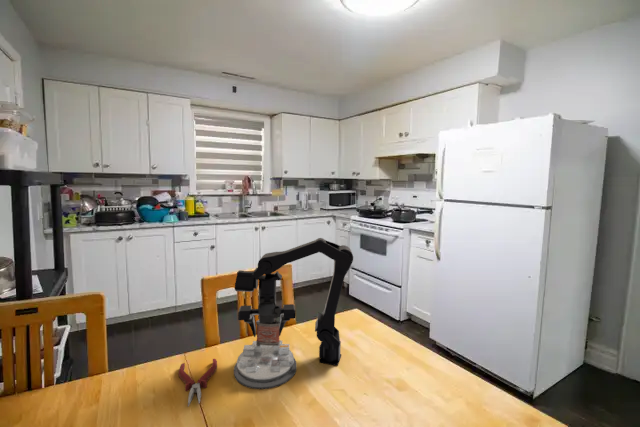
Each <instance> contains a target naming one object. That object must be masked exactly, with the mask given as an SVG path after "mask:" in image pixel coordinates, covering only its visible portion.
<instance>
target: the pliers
mask: <svg viewBox="0 0 640 427" xmlns="http://www.w3.org/2000/svg"><path fill="white" fill-rule="evenodd" d="M185 365H186V364H185V362H182V363H181V364H180V365H179V369H178V376H179V379H180V380H181V381H182V382H183V383H184V384H185V386H184V388H185V389H184V390H185V392H188V391H189V393H188V398H187V400H188V401H187V407H189V406H190V405H191V403H192V401H193V398H194V396H195V394H196V397H197V401H198V404H199V405H200V402H201V398H202V391H201V389H206V388H207V385H208V384H207V383H208V381H209V380H210V379H211V378H212V376H213V375H214V374H215V373H216V372H217V369H218V361H217V358H212V365H211V366H210V367H209V368H208V370H207V371H205V373H204V374H203V375H202V376H201V377H200V378H198V380H197V381H196V382H195V380H194V379H193V378H192V377H190V375H188V374H187V373H186V371H185V368H186V366H185Z"/></svg>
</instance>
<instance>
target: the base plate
mask: <svg viewBox="0 0 640 427" xmlns="http://www.w3.org/2000/svg"><path fill="white" fill-rule="evenodd" d="M297 365H298V364H297V361H296V358H295V357H294V365H293V368H292V370H291V371H290V372H289V373H288V374H287V375H285V376H284V377H282V378H280V379H277V380H274V381H269V382H253V381H249V380H247V379H244V378H243V377H241V376H240V375H239V373H238V371H237V362H236V363H235V365H234V366H233V376H234V379H235V380H236V381H237V383H238V384H240V385H242V386H243V387H246V388H247V389H248V388H249V389H253V390H268V389H273V388H277V387H279V386H282V385H284V384H287V382H289V381H290V380H291V379H292V378H293V377H294V376H295V375H296V372H297Z"/></svg>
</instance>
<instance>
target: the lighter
mask: <svg viewBox="0 0 640 427" xmlns="http://www.w3.org/2000/svg"><path fill="white" fill-rule="evenodd" d="M257 316H258V317H257V318H258V320H256V321H255V326H256V340H255V341H256V343H257V344H259V345H266V346H277V345H279V344H280V340H281V339H280V336H279V325H280V320H277V318H275V319H274V322H272V323H270V322H264V323H260V322H259V315H257Z"/></svg>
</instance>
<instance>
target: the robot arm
mask: <svg viewBox="0 0 640 427" xmlns="http://www.w3.org/2000/svg"><path fill="white" fill-rule="evenodd" d="M318 253H321V254H323V255H324V256H326V257H328V258H329V259H331V260H333V261H334V262H333V274H332V277H331V281H330V285H329V290H328V294H327V296H326V297H327V298H326V302H325V305H324V306H325V307H324V309H323V311H322V312H321V313H320V312H317V319H316V321H315V327H314V328H315V330H314V332H316V338H317V339H318V341H320V344H319V346H318V348H319V350H318V353H319V354H318V357H319V361H318V362H319V364H326V365H332V366H339V363H340V361H341V358H342V354H341V348H342V347H341V343H342V342H341V339H340V338H341V336H340V331H339V329H338V328H336V324H335V321H336V318H335V316H336V312H337V309H338V305H339V300H340V297H341V292H342V289H343V285H344V281H345V277H346V275H347V273H348V272H349V271H350V268H351V266H352V263H353V262H354V256H353V252H352V249H351V248H350V247H349V246H348V245H346V244H345V245H343V244H342V245H339V244H338V243H337V244H336V243H334V242H331V241H329V240H326V239H324V238H323V237H318V238H317V239H314V240H312V241H309V242H307V243H303V244H300V245H298V246H295V247H293V248H289V249H286V250H282V251H272V252H267V253H264V254H263V255H262V256H261V257H260V259H259V260H258V261H257V267H256V268H255V269H254V270H253V271H250V270H247V271H246V270H238V271H236V276H235V277H236V278H235V282H234V290H235V291H236V292H244V293H245V292H251V293H253V292H254V291H255V290H257V289H258V306H257V308H252V307H253V306H252V305H241V306H240V307H239V309H238V313H237V320H238V321H243V323H247V324H248V325H249V327H250V329H251V330H250V331H251V333H252V334H253V337H254V338H256V337H257V328H256V321H255V316H258V315H259V319H258V320H259V322H260V323H264V322H270V323H272V322H274V319H275V318H276V319H279V322H280V325H279V337H281V334H282V332H283V329H284V326H285V324H286V322H289V321H290V320H291V319H292V320H294V319H296V314H297V313H296V306H295V305H294V303H291V304H290V303H287V304H283V307H281V305H277V281H282V278H283V275H282V274H281V273H279V271H278V270H280V269H281V268H283V267H284V266H286V265H287V264H289V263H292V262H296V261H299V260H301V259H303V258H307V257H309V256H312V255H315V254H318Z"/></svg>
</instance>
